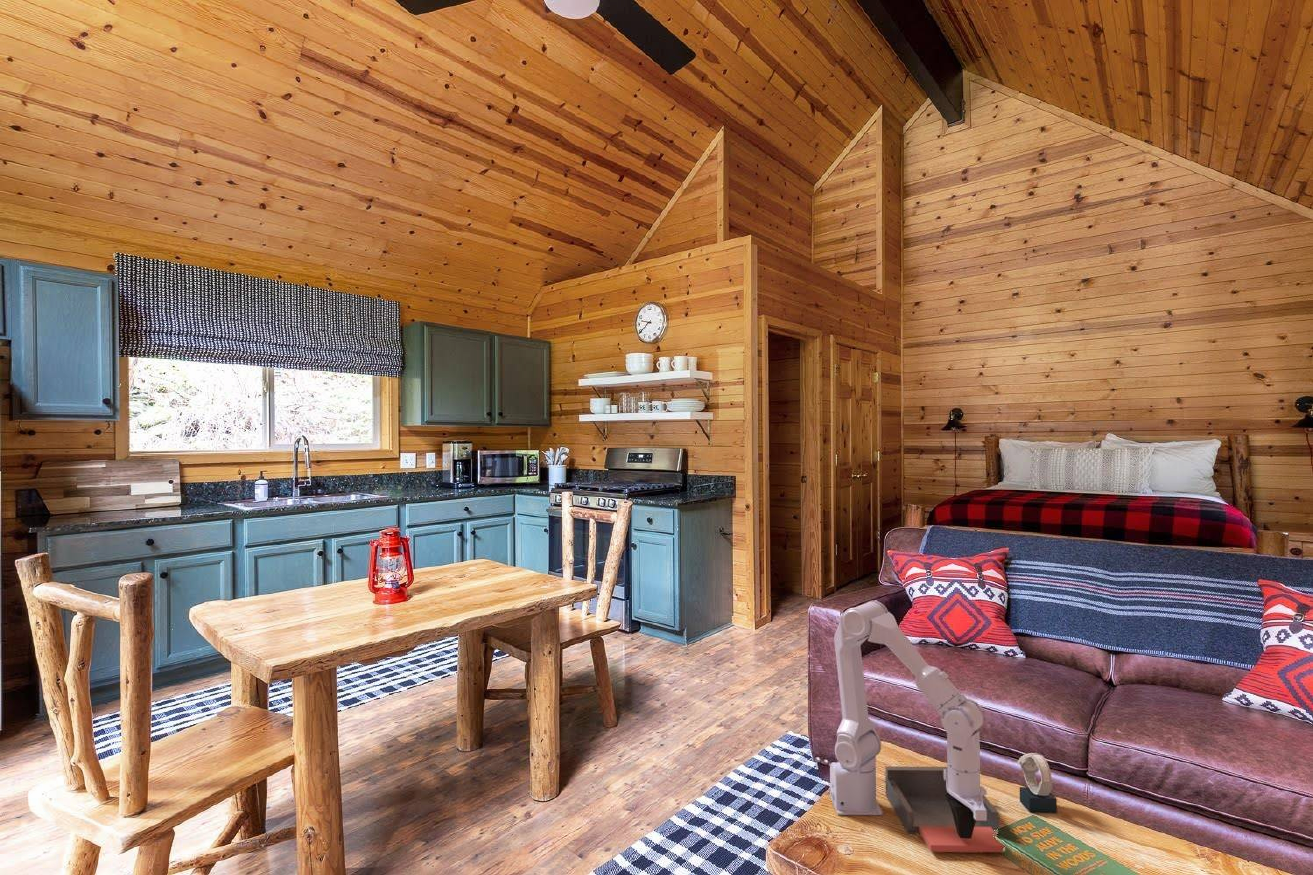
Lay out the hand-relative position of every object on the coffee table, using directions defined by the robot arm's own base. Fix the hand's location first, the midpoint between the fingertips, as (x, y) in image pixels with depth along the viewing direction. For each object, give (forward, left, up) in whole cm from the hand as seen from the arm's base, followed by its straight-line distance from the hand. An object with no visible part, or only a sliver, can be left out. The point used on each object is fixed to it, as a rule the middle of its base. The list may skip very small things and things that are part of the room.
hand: (964, 836), depth 125 cm
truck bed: (0, +12, -3) cm, 13 cm away
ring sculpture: (+22, +15, -3) cm, 27 cm away
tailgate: (0, +4, -1) cm, 5 cm away
